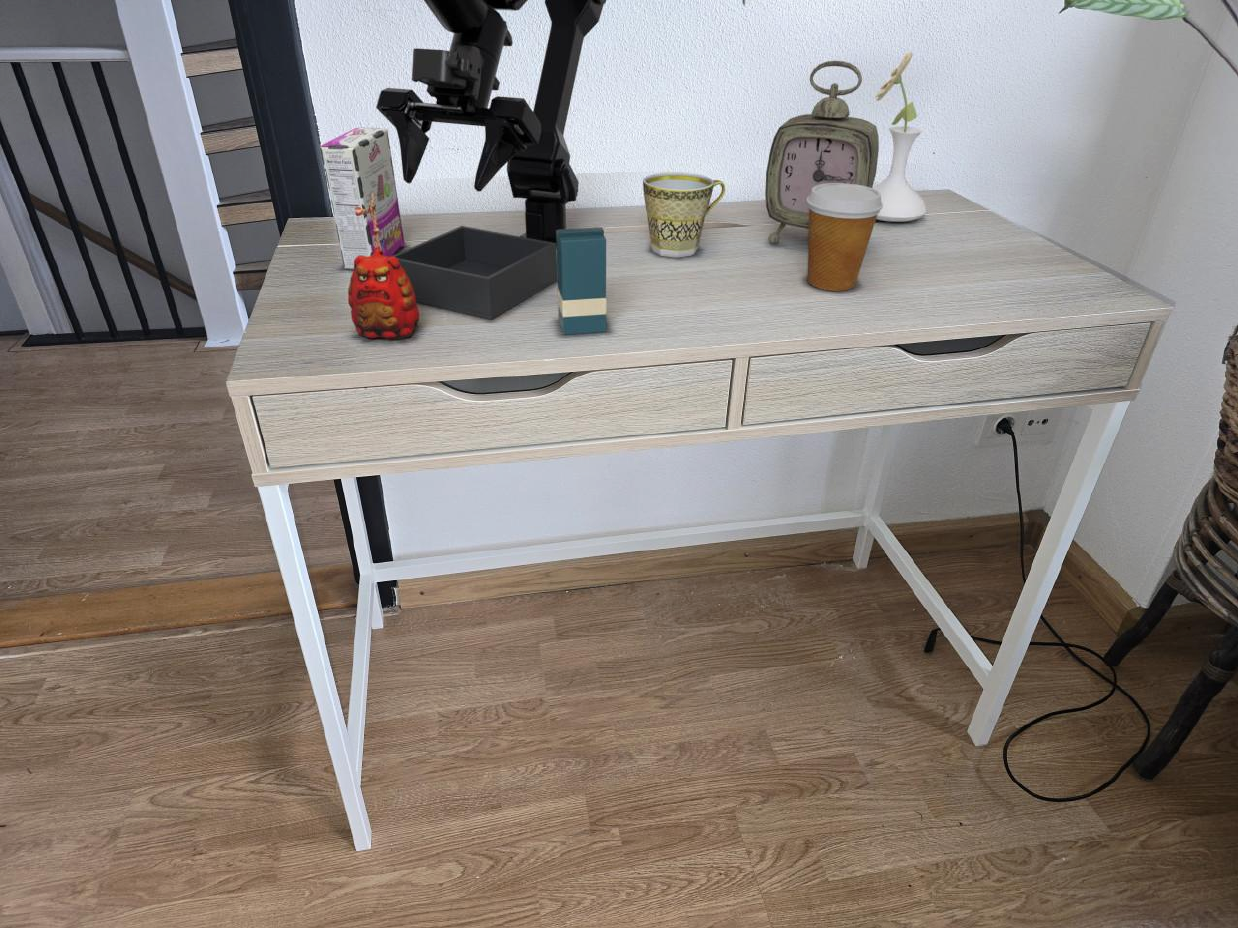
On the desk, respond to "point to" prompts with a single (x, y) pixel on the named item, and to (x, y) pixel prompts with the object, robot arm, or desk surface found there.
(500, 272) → the dark grey open box
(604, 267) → the teal gift box
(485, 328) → the desk surface
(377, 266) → the red clay folk toy
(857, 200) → the disposable coffee cup
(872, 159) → the tabletop clock
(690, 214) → the ceramic cup
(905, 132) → the flower in vase
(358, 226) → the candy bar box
